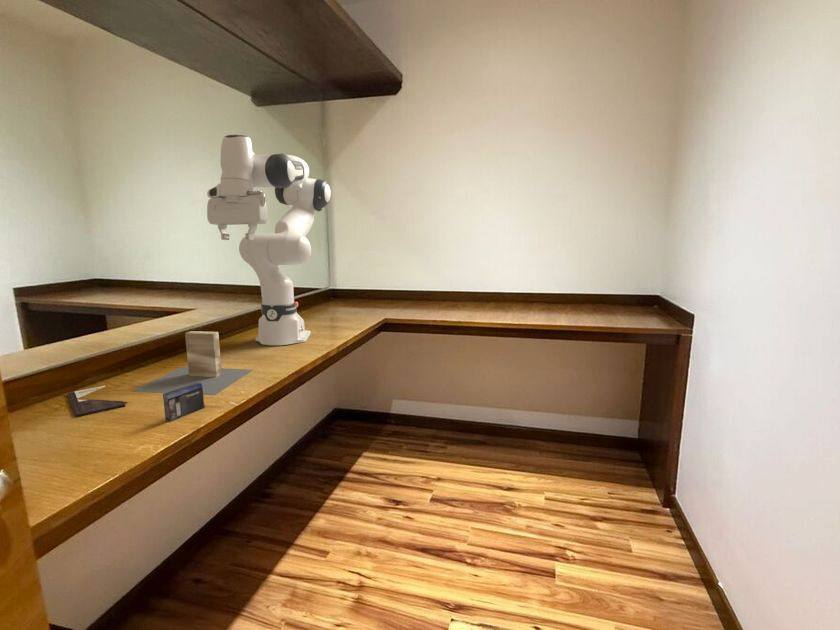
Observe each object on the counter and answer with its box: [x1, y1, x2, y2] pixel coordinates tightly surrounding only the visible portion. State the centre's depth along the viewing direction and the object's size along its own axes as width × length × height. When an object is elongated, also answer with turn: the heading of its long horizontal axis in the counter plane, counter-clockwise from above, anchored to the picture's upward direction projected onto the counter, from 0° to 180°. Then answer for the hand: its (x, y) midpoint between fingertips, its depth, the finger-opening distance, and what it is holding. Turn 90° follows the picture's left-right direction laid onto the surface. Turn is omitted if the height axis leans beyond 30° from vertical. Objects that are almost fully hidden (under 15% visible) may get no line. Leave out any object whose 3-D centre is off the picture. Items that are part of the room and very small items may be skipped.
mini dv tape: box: [162, 382, 205, 423], centre depth 95 cm, size 8×2×6 cm, turn 154°
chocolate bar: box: [67, 384, 126, 418], centre depth 103 cm, size 9×1×18 cm
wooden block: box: [184, 330, 222, 377], centre depth 119 cm, size 3×8×12 cm, turn 84°
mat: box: [130, 366, 254, 396], centre depth 116 cm, size 20×22×1 cm
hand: (237, 239), depth 127 cm, fingers open, 8 cm apart
